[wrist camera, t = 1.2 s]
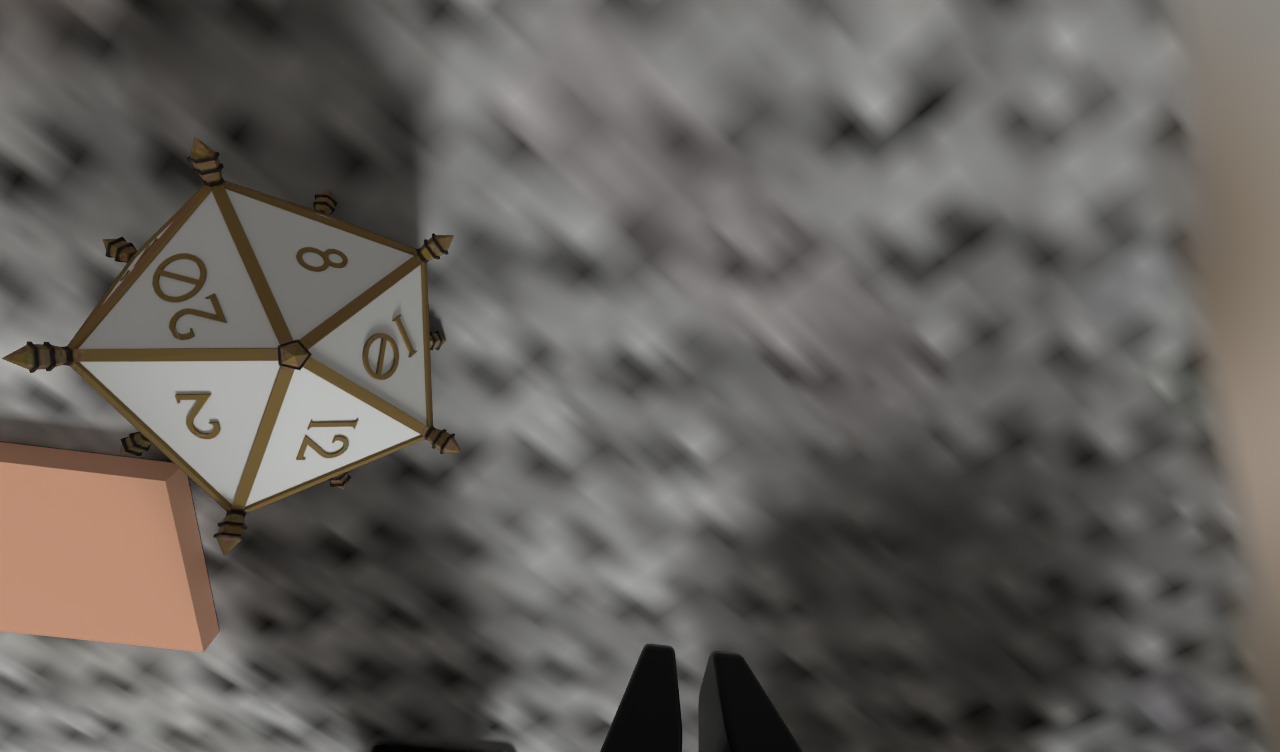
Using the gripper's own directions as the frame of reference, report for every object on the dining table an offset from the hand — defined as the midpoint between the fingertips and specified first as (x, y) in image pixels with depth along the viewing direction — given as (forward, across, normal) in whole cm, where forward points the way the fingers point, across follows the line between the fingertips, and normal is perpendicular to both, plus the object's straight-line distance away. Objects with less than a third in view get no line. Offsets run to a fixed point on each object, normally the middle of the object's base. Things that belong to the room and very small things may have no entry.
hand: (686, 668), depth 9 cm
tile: (+12, +20, +11) cm, 25 cm away
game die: (+12, +10, 0) cm, 15 cm away
